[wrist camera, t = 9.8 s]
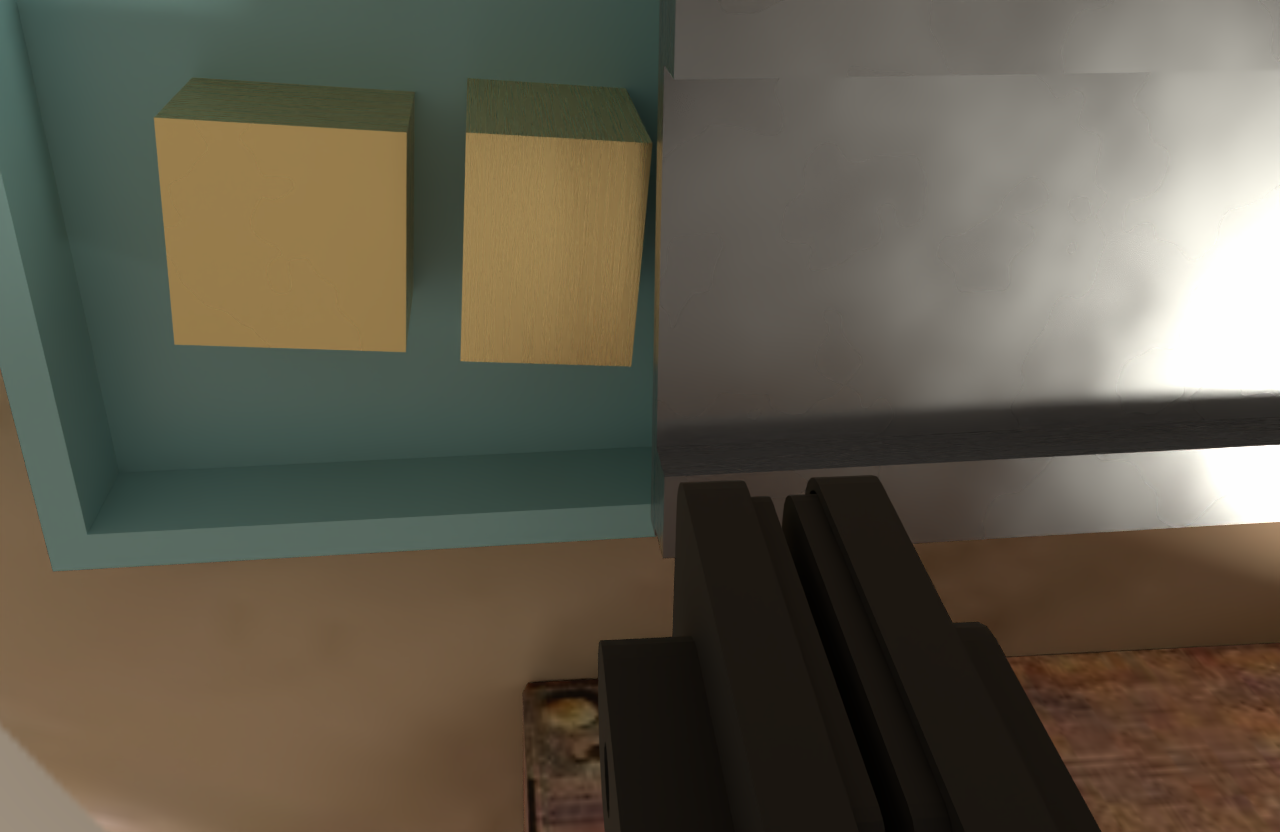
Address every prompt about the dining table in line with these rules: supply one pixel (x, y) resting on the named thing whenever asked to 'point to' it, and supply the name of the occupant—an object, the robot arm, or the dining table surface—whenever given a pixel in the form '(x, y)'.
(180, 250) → the tan wooden cube
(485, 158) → the tan wooden block
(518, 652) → the dining table surface
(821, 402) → the grey block holder
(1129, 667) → the book
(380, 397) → the tray
